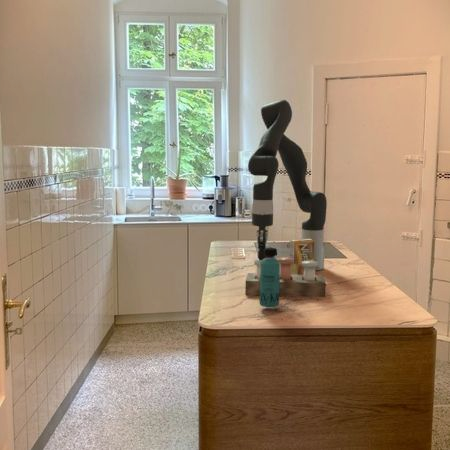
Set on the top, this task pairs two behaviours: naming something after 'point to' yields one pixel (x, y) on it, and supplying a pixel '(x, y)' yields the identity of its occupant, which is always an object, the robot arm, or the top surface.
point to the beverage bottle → (269, 279)
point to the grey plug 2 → (309, 269)
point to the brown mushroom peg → (285, 267)
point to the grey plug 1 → (258, 267)
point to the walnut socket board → (291, 286)
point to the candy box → (301, 254)
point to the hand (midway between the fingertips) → (261, 259)
